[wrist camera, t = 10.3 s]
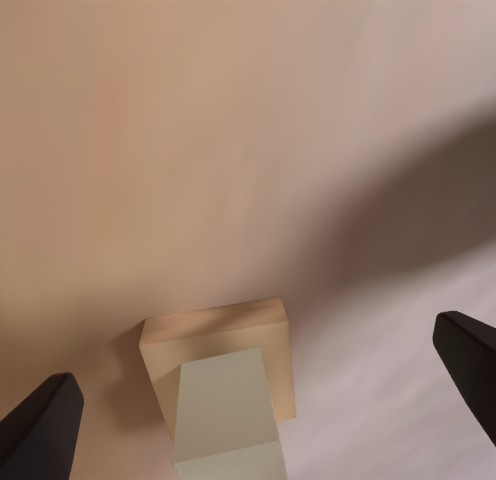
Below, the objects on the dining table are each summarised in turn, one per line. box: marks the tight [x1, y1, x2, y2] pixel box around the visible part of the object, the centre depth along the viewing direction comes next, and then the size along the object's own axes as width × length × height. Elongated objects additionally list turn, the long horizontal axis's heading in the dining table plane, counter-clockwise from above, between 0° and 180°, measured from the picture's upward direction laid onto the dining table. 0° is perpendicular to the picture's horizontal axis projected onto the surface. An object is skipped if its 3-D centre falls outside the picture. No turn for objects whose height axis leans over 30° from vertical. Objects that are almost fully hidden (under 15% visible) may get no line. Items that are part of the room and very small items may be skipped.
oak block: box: [139, 297, 296, 440], centre depth 23 cm, size 9×9×3 cm
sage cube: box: [172, 347, 288, 480], centre depth 19 cm, size 5×5×6 cm
